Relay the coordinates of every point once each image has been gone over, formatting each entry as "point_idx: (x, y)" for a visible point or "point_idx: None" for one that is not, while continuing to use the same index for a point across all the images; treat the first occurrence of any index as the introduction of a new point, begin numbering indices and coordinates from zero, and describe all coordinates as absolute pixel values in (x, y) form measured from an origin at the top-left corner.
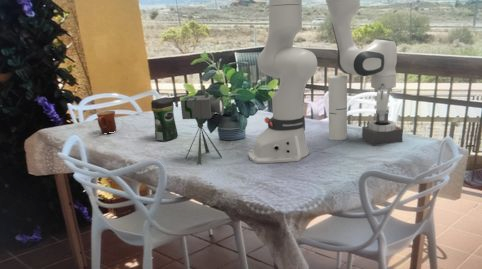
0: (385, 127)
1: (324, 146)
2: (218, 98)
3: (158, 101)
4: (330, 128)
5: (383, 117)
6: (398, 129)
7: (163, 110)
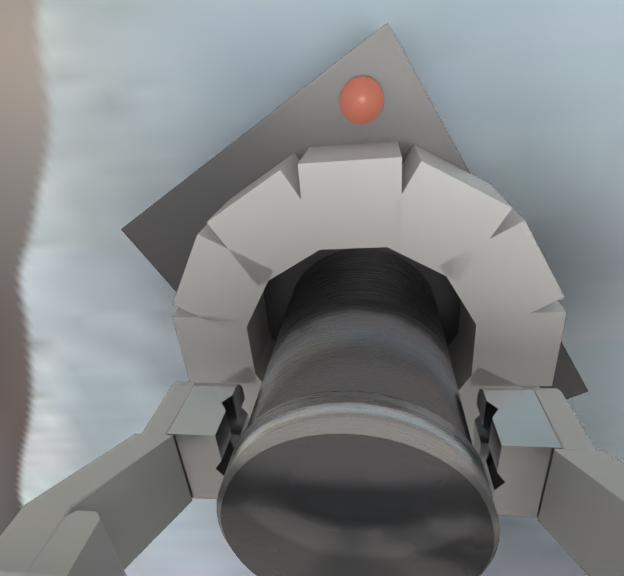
0: (541, 295)
1: (559, 571)
2: None
3: None
4: None
5: (576, 437)
6: (401, 94)
7: None
